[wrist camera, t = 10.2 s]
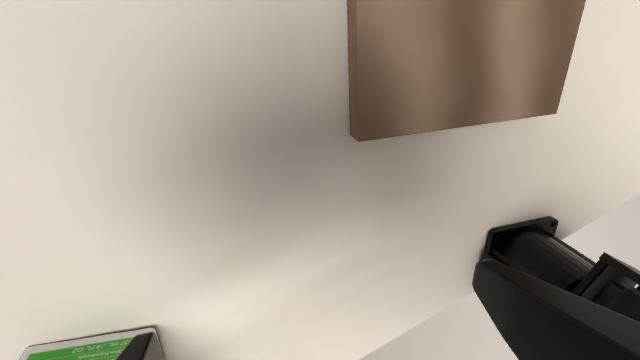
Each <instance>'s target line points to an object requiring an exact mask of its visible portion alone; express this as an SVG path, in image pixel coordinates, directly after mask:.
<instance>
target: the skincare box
mask: <svg viewBox="0 0 640 360" xmlns="http://www.w3.org/2000/svg"><path fill="white" fill-rule="evenodd" d="M147 332H154V333H155V334H156V335H157V333H156V330H155V329H154V328H145V329H140V330H135V331H128V332H120V333H113V334H107V335H101V336H95V337H88V338H82V339H76V340H70V341H63V342H56V343H50V344H43V345H36V346H31V347H28V348H26V350H25V351H24V352H23V354H22V355H21V357H20V359H19V360H115V359H116V358H117V357H118V356H119V354H120V353H121V352H122V351H123V350H124V348H125V347H126V346H127V345H128V344H129V342H130V341H131V340H132V339H133V338H134V337H135V336H136V335H138V334H142V333H147ZM157 338H158V336H157ZM158 341H159V340H158Z"/></svg>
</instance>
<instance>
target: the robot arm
mask: <svg viewBox="0 0 640 360" xmlns="http://www.w3.org/2000/svg"><path fill="white" fill-rule="evenodd" d="M557 225H558V220H556V219H555V218H553V217H549V218H544V219H539V220H534V221H530V222H525V223H520V224H516V225H511V226H506V227H501V228H497V229H493V230H492V231H490V233H489V235H488V239H487V244H486V249H485V254H484V259H483V261H479V262H478V263H477V264H476V267H475V272H474V277H473V282H472V284H473V288H474V291H475V292H476V294H477V296H478V297H479V299H480V301H481V302H482V304H483V306H484V307H485V309H486V311H487V312H488V314H489V316H490V317H491V319H492V321H493V322H494V324H495V325H496V327H497V329H498V330H499V332H500V333H501V335H502V337H503V338H504V340H505V341H506V343H507V344H508V345H509V347H510V348H511V350H512V351H513V352H514V354H515V355H516V356H517V358H518V359H519V360H640V271H639V270H637V269H635V268H633V267H631V266H630V265H627V264H626V263H623V262H622V261H620V260H618V259H616V258H614V257H612V256H610V255H608V254H607V253H605V252H604V253H603V254H602V255H601V256H600V257H599V259H600V260H599V261H598V262H597V263H595V262H593V261H592V260H590V259H589V258H587V257H586V256H584V255H583V254H581V253H580V252H578V251H577V250H575V249H574V248H572V247H571V246H569V245H567V244H566V243H564V242H563V241H561V240H560V239H558V238H557V237H555V236H554V235H555V232H556V228H557ZM636 284H638V285H639V286H638V287H637V288H634V286H635V285H636ZM115 360H164V355H163V351H162V349H161V346H160V343H159V341H158V338H157V335H156V334H155V333H154V332H147V333H142V334H138V335H136V336H135V337H134V338H133V339H132V340H131V341H130V342H129V344H128V345H127V346H126V347H125V348H124V350H123V351H122V352H121V353H120V354H119V356H118V357H117V358H116V359H115Z"/></svg>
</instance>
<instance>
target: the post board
mask: <svg viewBox="0 0 640 360" xmlns="http://www.w3.org/2000/svg"><path fill="white" fill-rule="evenodd" d="M585 2H586V0H347V7H348V55H349V103H350V135H352V136H353V137H354V138H355V139H356V140H357V141H358V142H359V141H366V140H373V139H380V138H387V137H394V136H401V135H408V134H416V133H423V132H430V131H437V130H444V129H451V128H458V127H465V126H472V125H479V124H486V123H493V122H500V121H507V120H515V119H522V118H529V117H536V116H543V115H550V114H556V113H557V109H558V105H559V102H560V98H561V94H562V90H563V86H564V82H565V79H566V75H567V71H568V67H569V63H570V59H571V55H572V52H573V48H574V44H575V40H576V36H577V32H578V28H579V25H580V21H581V17H582V13H583V9H584V5H585Z"/></svg>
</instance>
